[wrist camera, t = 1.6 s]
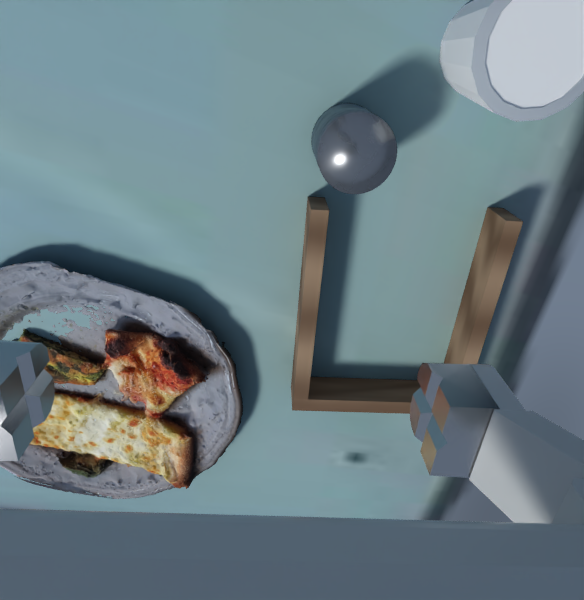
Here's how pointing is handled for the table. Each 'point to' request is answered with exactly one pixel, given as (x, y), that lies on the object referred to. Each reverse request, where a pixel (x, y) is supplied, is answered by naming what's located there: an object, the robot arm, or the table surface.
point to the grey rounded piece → (353, 148)
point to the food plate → (122, 387)
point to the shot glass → (516, 55)
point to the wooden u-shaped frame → (464, 341)
